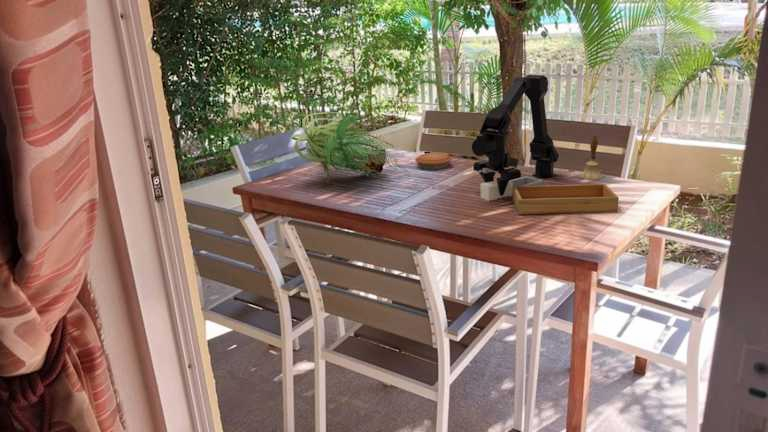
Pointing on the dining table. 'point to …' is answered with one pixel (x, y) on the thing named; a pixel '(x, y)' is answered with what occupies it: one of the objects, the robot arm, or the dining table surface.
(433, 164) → the pie
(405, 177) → the dining table surface
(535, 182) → the holder
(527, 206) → the tray
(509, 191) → the block
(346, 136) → the plant
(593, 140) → the hand bell
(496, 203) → the dining table surface
